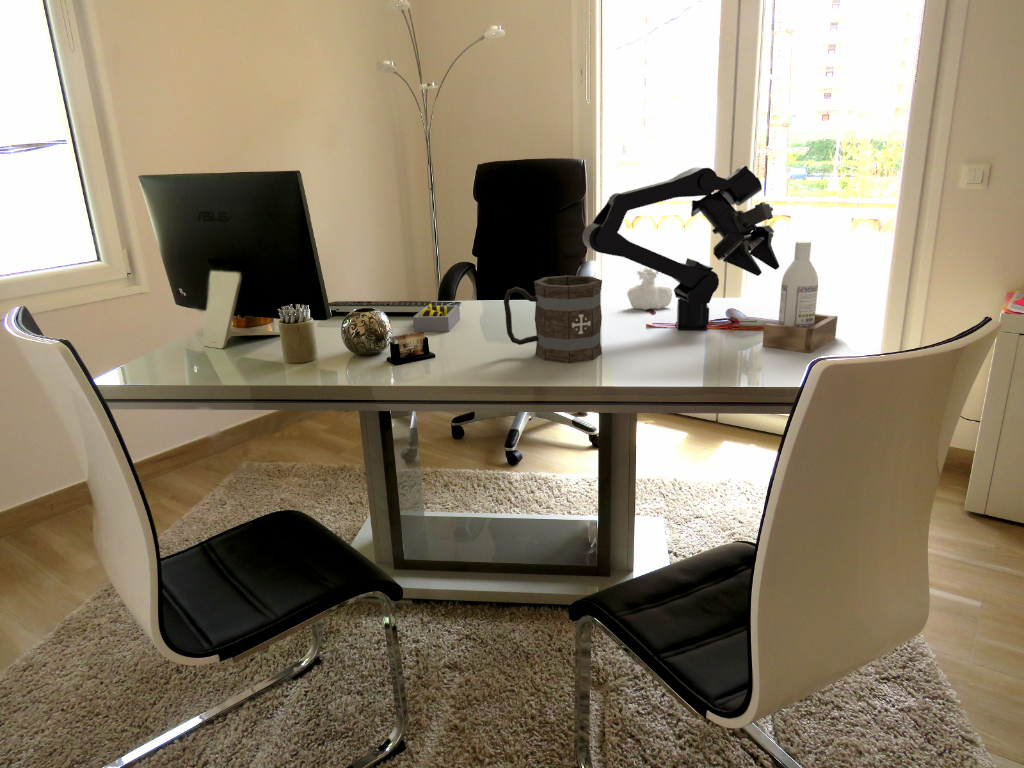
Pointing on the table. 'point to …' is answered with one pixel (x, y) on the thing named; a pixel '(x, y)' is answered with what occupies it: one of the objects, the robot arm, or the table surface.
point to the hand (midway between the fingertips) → (769, 271)
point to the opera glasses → (434, 311)
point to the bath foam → (799, 290)
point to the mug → (563, 318)
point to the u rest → (801, 335)
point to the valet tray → (437, 321)
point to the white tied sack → (649, 292)
